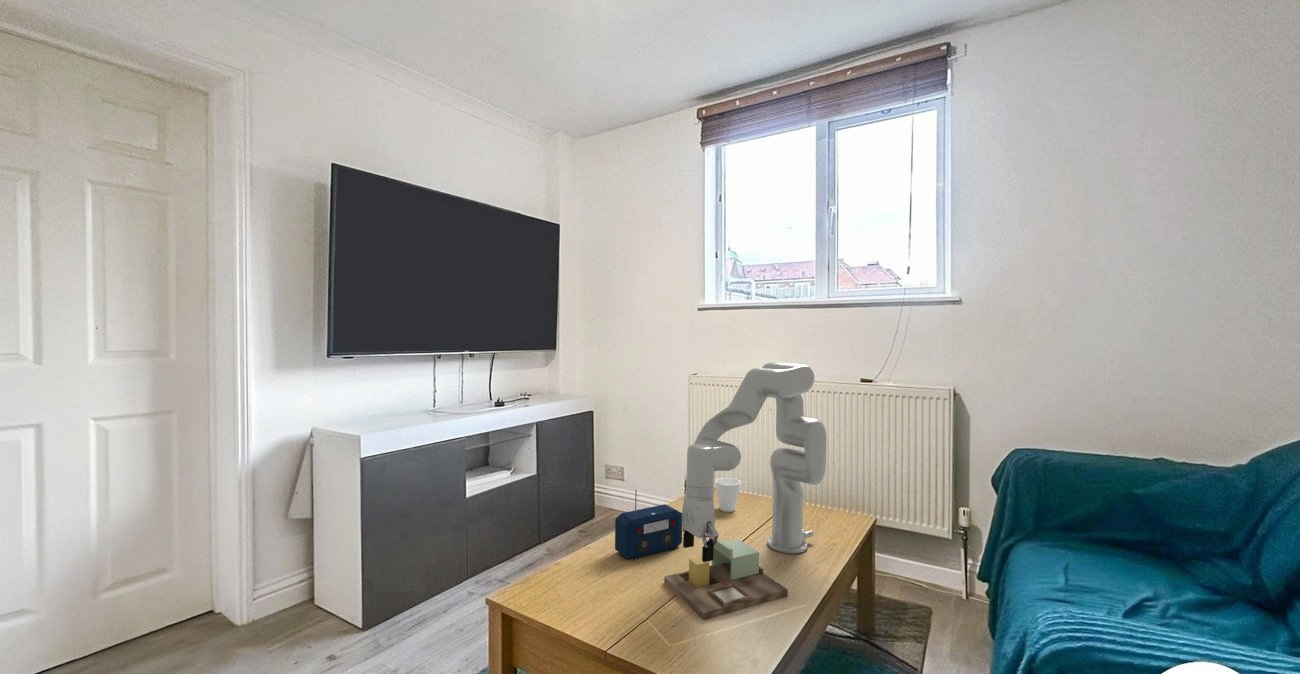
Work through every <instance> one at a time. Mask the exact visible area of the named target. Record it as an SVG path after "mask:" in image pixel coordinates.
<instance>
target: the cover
mask: <svg viewBox="0 0 1300 674" xmlns="http://www.w3.org/2000/svg"><path fill="white" fill-rule="evenodd" d="M727 562H731V577H730V579H732V580H734V579H738V578H741V577H745V576H749V575H753V574H757V573H759V566H760V552H759V550H757V549H755V548H753V547H751V546H750V545H748V544H747V543H745V542H744V541H742V540H740V539H739V538H735V539H731V540H726V541H721V540H720V539H717V543H716V544H715V546H714V553H713V560H712V561H711V566H712V565H713V566H714V565H718V564H723V563H727Z"/></svg>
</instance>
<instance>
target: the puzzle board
mask: <svg viewBox="0 0 1300 674" xmlns="http://www.w3.org/2000/svg"><path fill="white" fill-rule="evenodd" d="M730 577H731V562H727V563H723V564H718V565H714V566H713V565H712V564H711V565H709V586H705V587H701V588H697V589H695V588H694V587H692V586H691V585H690V584H689V570H687V571H682V572H679V573H675V574H670V575H666V576H665V575H664V577H663V578H664V579H663V582H664V585H665V586H667V588H669V589H670V590H671V591H672V592H673V593H674V594H675V595H676V596H677V597H678V598H680V600H681V601H683V602H684V604H686V605H687V606H688V607H689V608H690V609H691V610H692V611H693V612H694V613H696V615H698V617H699V618H701V620H703V621H706V620H711V619H713V618H716V617H717V618H718V617H720V616H724V615H727V614H731V613H734V612H737V611H741V610H745V609H748V608H752V607H754V606H755V607H757V606H758V605H763V604H765V603H766V604H767V603H769V602H773V601H776V600H779V599H783V598H787V597H788V592H789V591H788V590H789V589H788V588H786V587H785V586H784V585H782V584H780V582H777V581H776V580H774V579H773V578H771V577H770V576H769V575H767V574H765V573H764V568H763V567H761V566H760V565H759V573H757V574H753V575H749V576H745V577H741V578H738V579H734V580H732V579H730Z"/></svg>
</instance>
